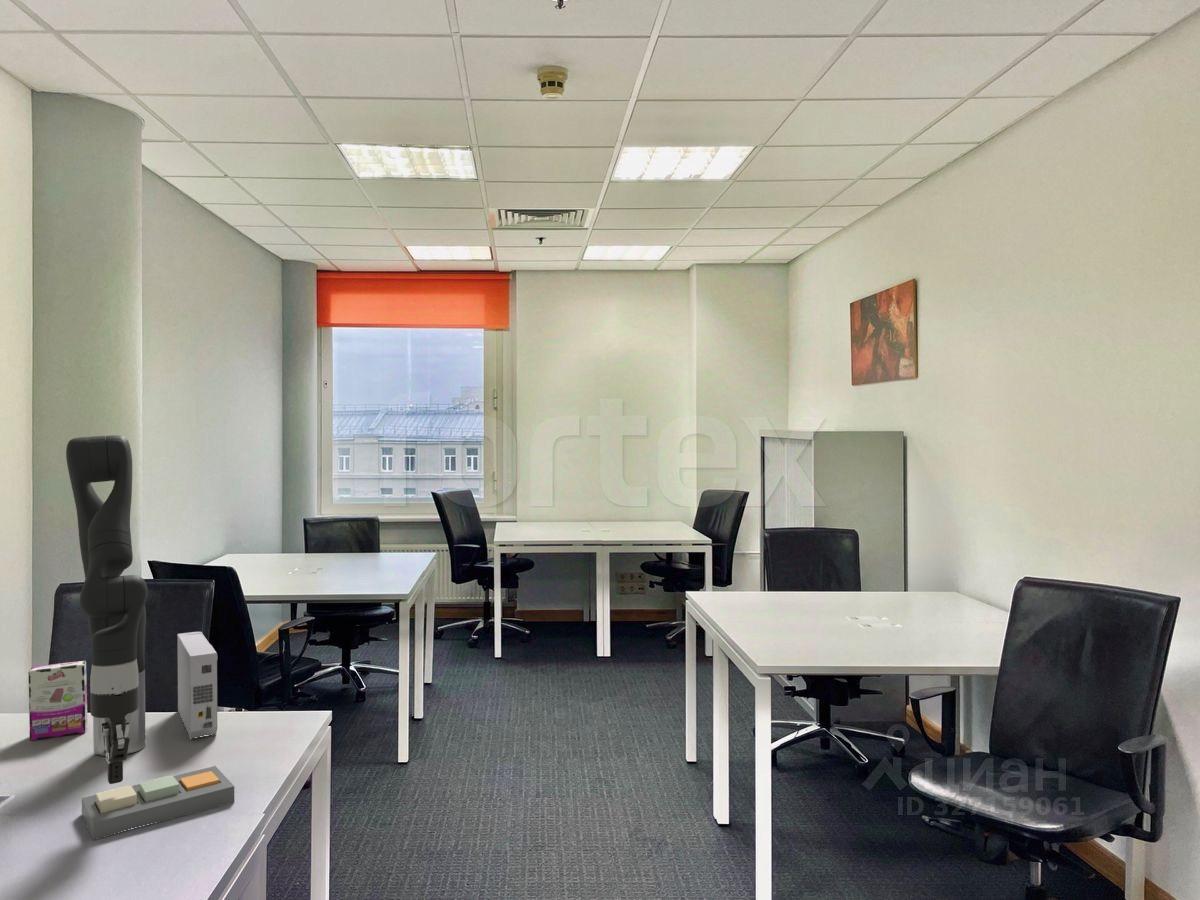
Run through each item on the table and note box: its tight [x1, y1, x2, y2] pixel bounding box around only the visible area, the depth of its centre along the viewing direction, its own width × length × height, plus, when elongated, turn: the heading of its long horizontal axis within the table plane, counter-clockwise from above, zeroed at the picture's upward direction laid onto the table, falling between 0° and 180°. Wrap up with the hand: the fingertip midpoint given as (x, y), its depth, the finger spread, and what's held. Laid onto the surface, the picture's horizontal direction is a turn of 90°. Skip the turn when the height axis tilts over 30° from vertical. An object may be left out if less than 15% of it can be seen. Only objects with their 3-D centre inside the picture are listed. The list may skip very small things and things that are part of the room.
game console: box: [177, 631, 218, 738], centre depth 198 cm, size 6×27×20 cm, turn 33°
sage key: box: [139, 774, 179, 802], centre depth 151 cm, size 6×6×2 cm
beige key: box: [95, 784, 137, 813], centre depth 147 cm, size 6×6×2 cm
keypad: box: [81, 765, 235, 841], centre depth 151 cm, size 23×13×3 cm, turn 130°
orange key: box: [180, 771, 219, 791], centre depth 156 cm, size 6×6×2 cm
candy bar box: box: [27, 660, 88, 742], centre depth 191 cm, size 11×5×16 cm, turn 117°
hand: (115, 781), depth 147 cm, fingers closed
